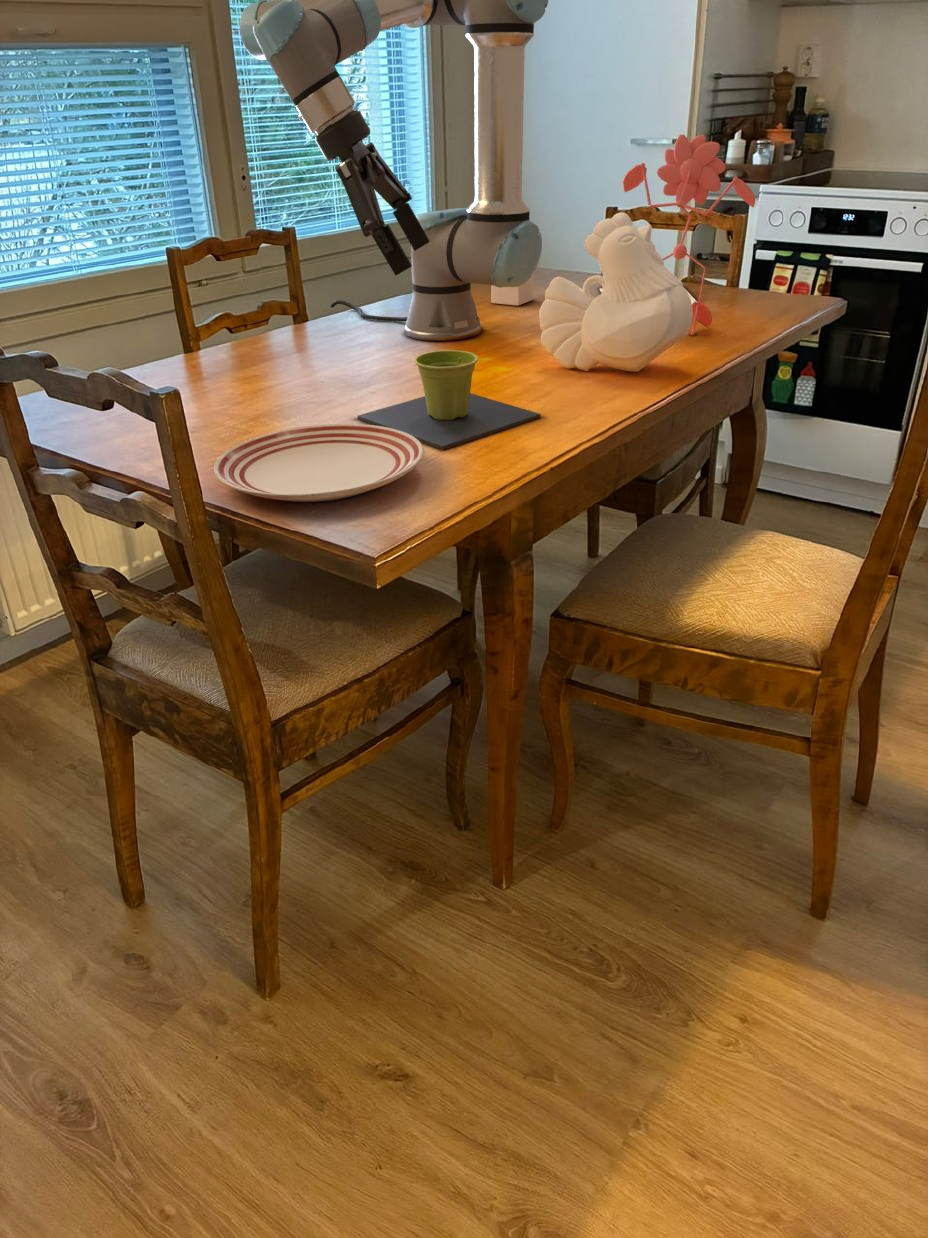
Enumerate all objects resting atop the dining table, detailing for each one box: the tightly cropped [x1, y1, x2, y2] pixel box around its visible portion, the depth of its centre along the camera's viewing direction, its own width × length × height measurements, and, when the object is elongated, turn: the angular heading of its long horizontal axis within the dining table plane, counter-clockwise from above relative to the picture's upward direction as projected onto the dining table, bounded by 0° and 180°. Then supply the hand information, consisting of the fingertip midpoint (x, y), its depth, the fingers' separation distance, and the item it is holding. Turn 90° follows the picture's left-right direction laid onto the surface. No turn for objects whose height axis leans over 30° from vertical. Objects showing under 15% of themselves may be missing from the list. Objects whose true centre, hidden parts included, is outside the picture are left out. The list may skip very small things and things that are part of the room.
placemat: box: [356, 392, 542, 451], centre depth 148 cm, size 20×20×1 cm
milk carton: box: [490, 271, 535, 307], centre depth 215 cm, size 7×7×19 cm
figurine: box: [622, 134, 756, 338], centre depth 187 cm, size 15×26×35 cm, turn 64°
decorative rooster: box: [538, 211, 694, 373], centre depth 166 cm, size 25×16×25 cm
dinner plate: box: [213, 423, 425, 503], centre depth 127 cm, size 27×27×3 cm
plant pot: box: [414, 349, 479, 420], centre depth 145 cm, size 9×9×9 cm
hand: (413, 258), depth 145 cm, fingers open, 13 cm apart
